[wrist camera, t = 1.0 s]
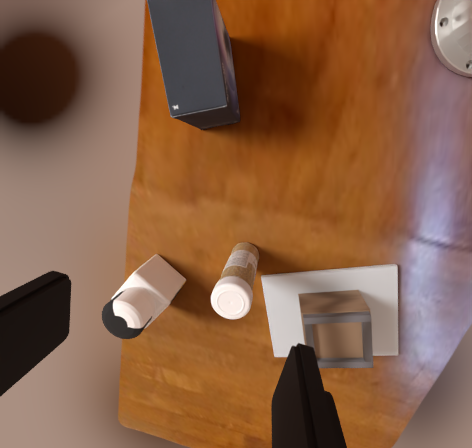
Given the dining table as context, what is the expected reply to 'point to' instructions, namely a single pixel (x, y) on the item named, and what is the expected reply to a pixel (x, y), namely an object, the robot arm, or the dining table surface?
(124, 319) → the medicine bottle
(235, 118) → the small box
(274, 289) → the white rectangular board
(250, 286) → the sprinkles bottle
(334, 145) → the dining table surface
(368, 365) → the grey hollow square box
